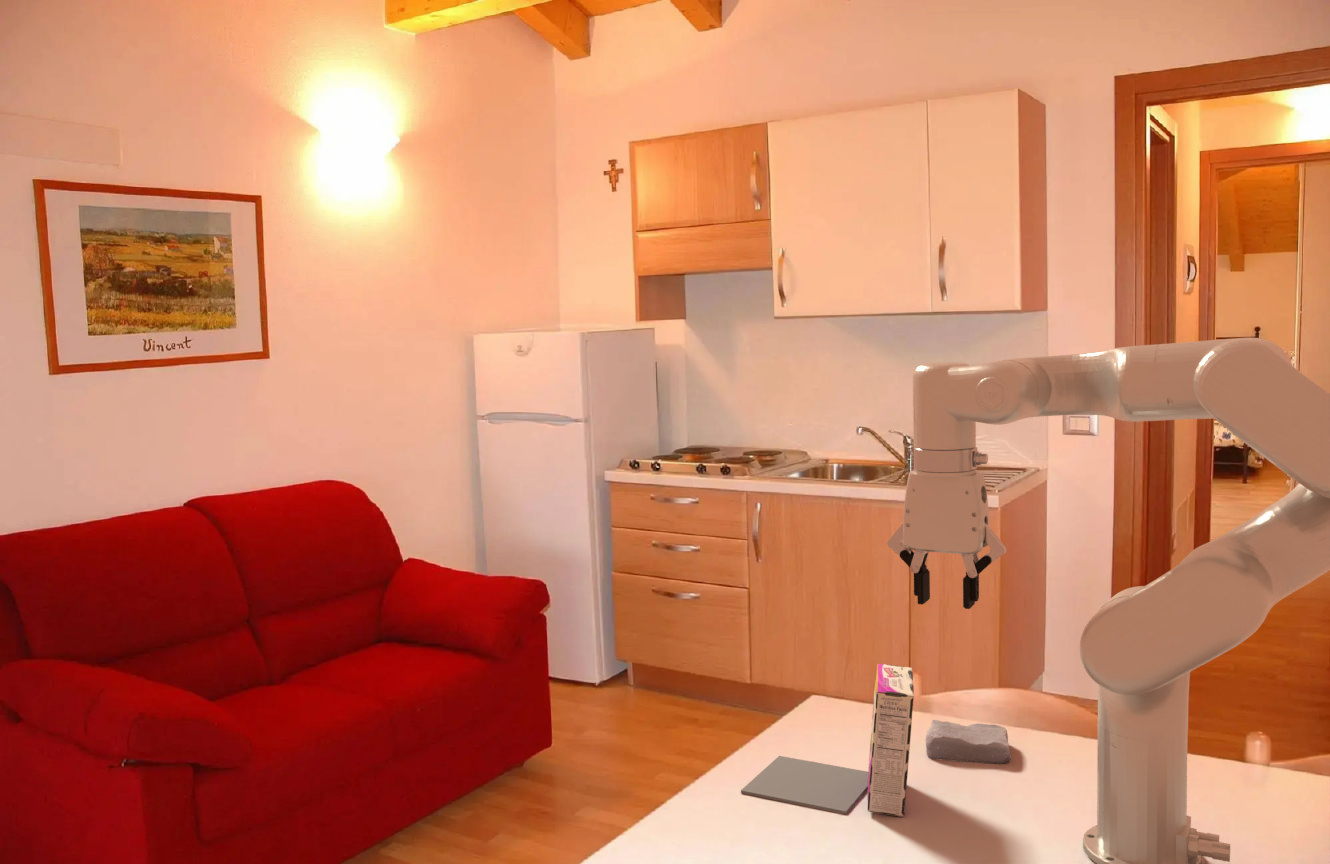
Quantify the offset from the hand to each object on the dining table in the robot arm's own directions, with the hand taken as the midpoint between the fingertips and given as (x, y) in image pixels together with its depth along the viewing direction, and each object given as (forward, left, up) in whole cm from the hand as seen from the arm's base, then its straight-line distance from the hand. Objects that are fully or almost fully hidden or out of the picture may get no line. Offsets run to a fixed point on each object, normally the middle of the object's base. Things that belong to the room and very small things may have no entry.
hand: (946, 602), depth 136 cm
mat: (+19, 0, -27) cm, 33 cm away
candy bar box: (+9, 0, -27) cm, 29 cm away
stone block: (+3, -21, -28) cm, 35 cm away
